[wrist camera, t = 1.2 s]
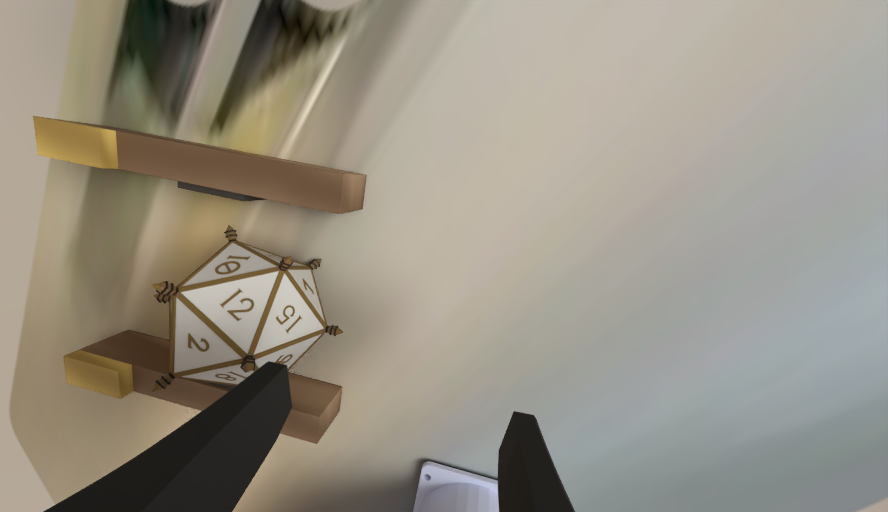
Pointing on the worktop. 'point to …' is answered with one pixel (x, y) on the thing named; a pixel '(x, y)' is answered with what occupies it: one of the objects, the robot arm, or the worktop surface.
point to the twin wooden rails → (217, 173)
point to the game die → (241, 315)
